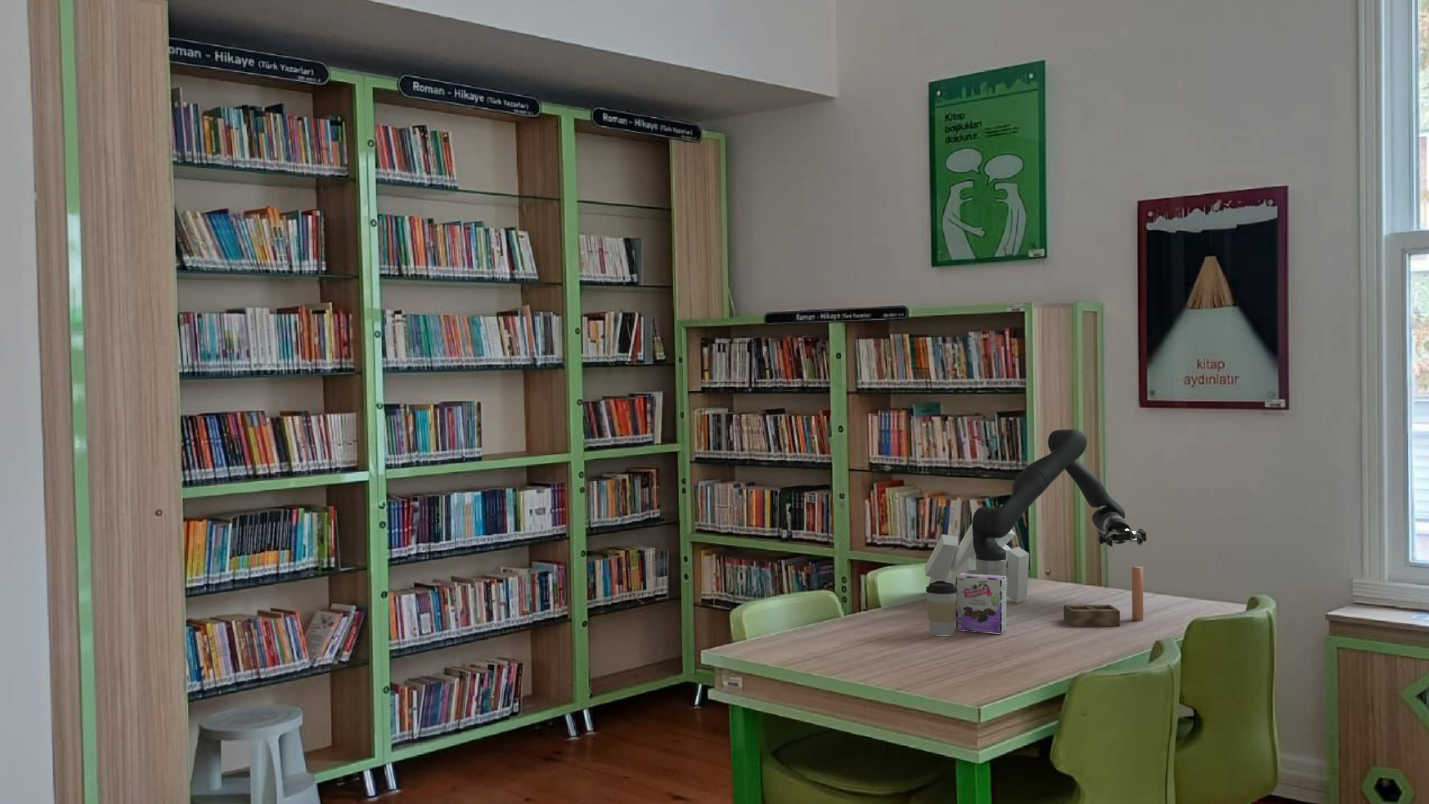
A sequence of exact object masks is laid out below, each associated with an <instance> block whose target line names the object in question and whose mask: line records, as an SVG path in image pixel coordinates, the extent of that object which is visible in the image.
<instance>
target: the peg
mask: <svg viewBox="0 0 1429 804" xmlns="http://www.w3.org/2000/svg"><path fill="white" fill-rule="evenodd" d="M1131 618H1132V619H1131V620H1132V621H1134V620H1137V621H1136V622H1143V621H1144V567H1142V566H1132V567H1131Z"/></svg>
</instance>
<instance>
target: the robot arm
mask: <svg viewBox="0 0 1429 804" xmlns="http://www.w3.org/2000/svg"><path fill="white" fill-rule="evenodd" d="M1087 438H1088V437H1087V435H1086V434H1085V433H1084V432H1083V431H1081V430H1080V429H1079V430H1078V429H1074V428H1072V429H1069V428H1068V429H1057V430H1053V431H1051V433H1050V434H1049V435H1048V438H1047V446H1048V450H1049V452H1050V453H1049V454H1047V455H1045V456H1043V457H1041V458H1039V459H1037V460H1035V461H1033V462H1032V463H1029V465H1027V466H1026V467H1025V468H1024V469H1023V470H1022V471H1021V472H1020V473H1019V474H1018V475H1017V476H1016V477H1015V479H1014V480H1013V483H1012V490H1011V495H1010V497H1009V499H1008V500H1007V501H1006V502H1005V503H1004V504H1002V505H1001V506H1000V507H998V508H997V507H990V506H988V507H987V506H982V507H979V508H977V509H976V510H975V512H974V514H973V516H972V520H971V521H972V523H971V524H972V532H973V547H974V551H975V553H976V574H981V575H995V576H1006V577H1007V563H1006V551H1005V550H1004V549H1003V548H1002V547H1000V546H999V545H998V544H997V542H996V540H995V538H1002V537H1004V536H1006V535H1007V534H1008V533H1009V532H1010V531H1011V529H1012V530H1013V528H1014V526H1015V525H1016V524H1017V522H1018V521H1019V520H1020V518H1021V517H1022V516H1023V515H1024V514H1025V512H1026V511H1027V510H1028V509H1029V508H1030V506H1031V505H1033V503H1034V502H1035V501H1036V500H1037V499H1038V498H1039V497H1040V496H1041V495H1042V494H1043V493H1044V492H1045V491H1046V490H1047V489H1048V488H1049V486H1050V485H1051V484H1052V483H1053V482H1054V481H1055V480H1056V479H1057V478H1058V477H1059V476H1060V474H1062V473H1063V471H1064V470H1065V471H1066V473H1067V474H1068V475H1069V476H1070V478H1071V479H1072V480H1073V481H1074V482H1075V484H1076V485H1077V486H1078V489H1079V490H1080V491H1081V493H1082V495H1083V498H1085V500H1086V502H1087V504H1088V505H1089V507H1091V508H1099V509H1097V510H1095V511H1094V512H1093V514H1092V515H1091V521H1092V524H1093V525H1094V526H1095V527H1096V529H1098V530H1099V531H1097V539H1098V542H1099V544H1100V545H1104V544H1106V545H1107V546H1109V547H1110V548H1111V547H1113V546H1114V545H1113V544H1116V545H1122V544H1125V543H1126V542H1129V543H1135V542H1136V543H1137V544H1138V546H1140V545H1142V544H1143V542H1148V541H1147V532H1146V531H1145V530H1143V528H1138V529H1137V531H1135V530H1133V529H1131V527H1130V525H1129V524H1128V522H1127V521H1126V520H1125V518H1126V513H1125V510H1124V509H1123V507H1122V506H1121V505H1120V504H1118V502H1117V501H1115V500H1114V499H1113V498H1112V497H1111V496H1110V495H1109V493H1108V492H1107V490H1106V488H1105V487H1104V485H1103V483H1102V482H1101V480H1100V479H1099V477H1097V475H1096V474H1095V473H1094V472H1092V470H1091V469H1089V468H1088V467H1086V466H1085V465H1084V464H1083V463H1082V462H1081V461H1080V460H1079V459H1078V458H1080V457H1081V456H1082V455H1083V453H1085V451H1086V449H1087V446H1088V445H1087V444H1088V439H1087ZM1007 609H1008V608H1007V606H1006V610H1007Z"/></svg>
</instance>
